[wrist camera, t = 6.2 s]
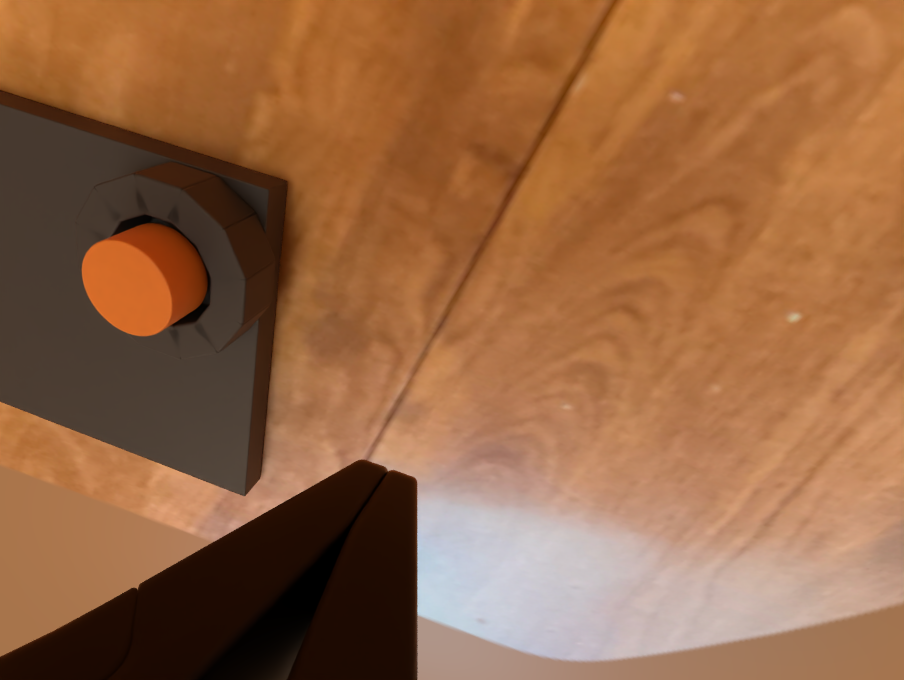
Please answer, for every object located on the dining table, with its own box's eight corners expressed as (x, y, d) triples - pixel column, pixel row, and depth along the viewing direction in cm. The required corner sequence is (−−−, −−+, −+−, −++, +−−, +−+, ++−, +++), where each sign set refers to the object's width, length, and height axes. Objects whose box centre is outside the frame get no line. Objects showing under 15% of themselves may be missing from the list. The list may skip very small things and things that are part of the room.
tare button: (207, 325, 20) (172, 350, 19) (125, 296, 21) (84, 318, 19) (210, 239, 19) (171, 258, 17) (121, 209, 19) (76, 226, 18)
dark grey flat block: (270, 482, 27) (229, 532, 24) (17, 385, 28) (-46, 422, 26) (301, 184, 20) (250, 209, 18) (-29, 81, 22) (-120, 89, 19)
